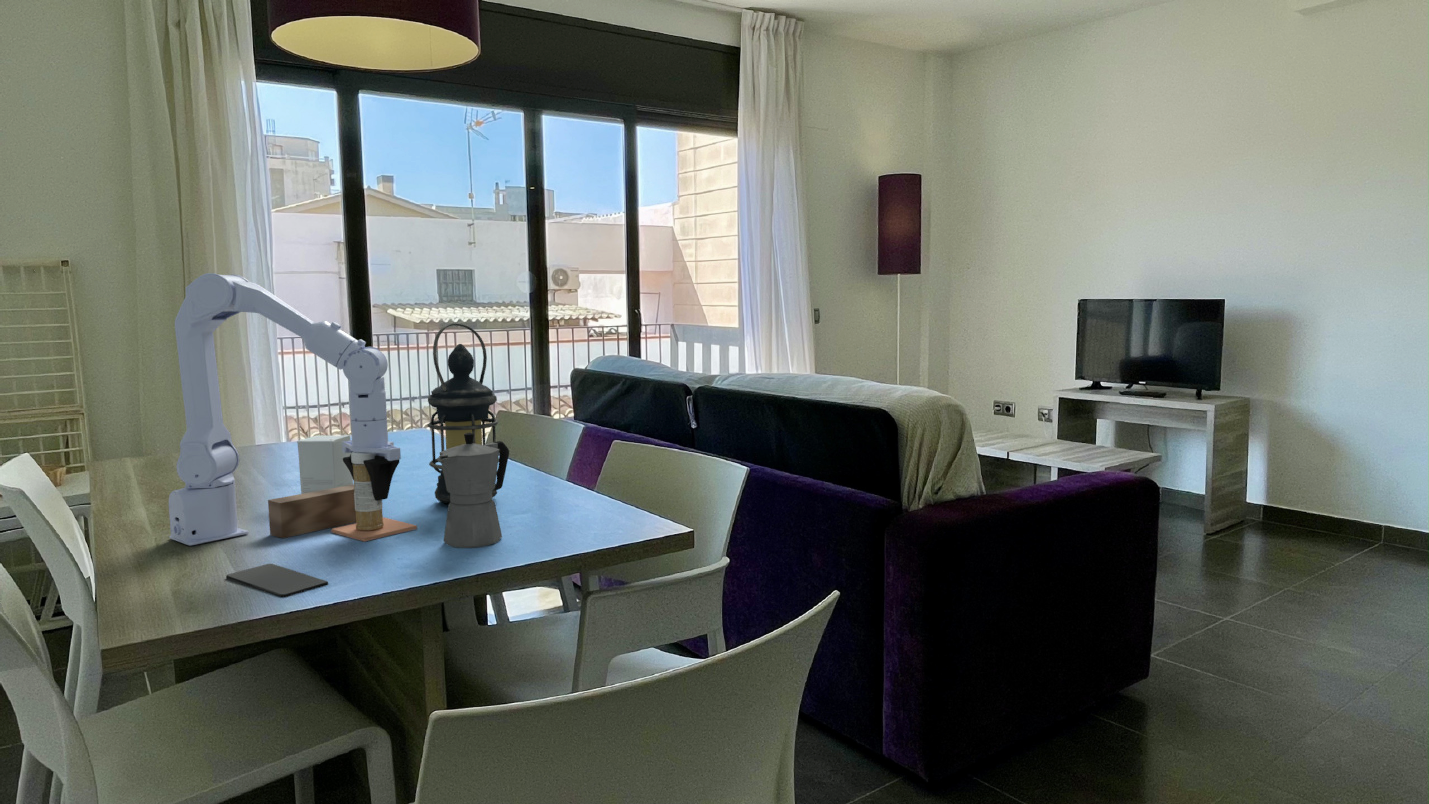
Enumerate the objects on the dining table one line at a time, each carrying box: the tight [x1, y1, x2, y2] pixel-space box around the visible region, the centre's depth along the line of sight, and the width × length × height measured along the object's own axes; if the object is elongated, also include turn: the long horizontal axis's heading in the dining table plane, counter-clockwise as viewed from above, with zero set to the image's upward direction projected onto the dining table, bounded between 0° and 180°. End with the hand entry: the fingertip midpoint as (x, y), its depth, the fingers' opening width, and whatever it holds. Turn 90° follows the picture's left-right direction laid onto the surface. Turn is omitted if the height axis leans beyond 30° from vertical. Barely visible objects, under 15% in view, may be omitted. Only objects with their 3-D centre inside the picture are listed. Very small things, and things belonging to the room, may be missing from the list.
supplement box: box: [296, 435, 354, 494], centre depth 176 cm, size 7×7×13 cm
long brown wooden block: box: [267, 483, 356, 539], centre depth 156 cm, size 18×4×6 cm, turn 143°
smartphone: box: [225, 563, 329, 598], centre depth 125 cm, size 7×1×15 cm
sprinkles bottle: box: [351, 452, 384, 531], centre depth 151 cm, size 5×5×13 cm
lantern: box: [427, 322, 499, 504], centre depth 172 cm, size 14×13×35 cm
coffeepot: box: [436, 432, 510, 549], centre depth 146 cm, size 15×9×18 cm, turn 150°
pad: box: [330, 516, 418, 542], centre depth 153 cm, size 10×10×1 cm
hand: (373, 497), depth 152 cm, fingers closed on sprinkles bottle, 4 cm apart
